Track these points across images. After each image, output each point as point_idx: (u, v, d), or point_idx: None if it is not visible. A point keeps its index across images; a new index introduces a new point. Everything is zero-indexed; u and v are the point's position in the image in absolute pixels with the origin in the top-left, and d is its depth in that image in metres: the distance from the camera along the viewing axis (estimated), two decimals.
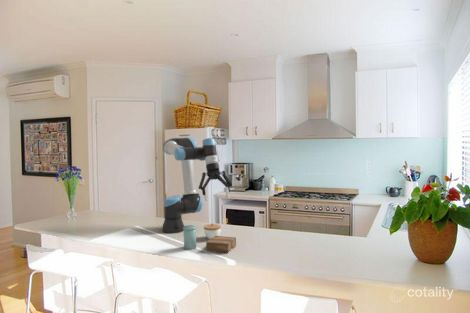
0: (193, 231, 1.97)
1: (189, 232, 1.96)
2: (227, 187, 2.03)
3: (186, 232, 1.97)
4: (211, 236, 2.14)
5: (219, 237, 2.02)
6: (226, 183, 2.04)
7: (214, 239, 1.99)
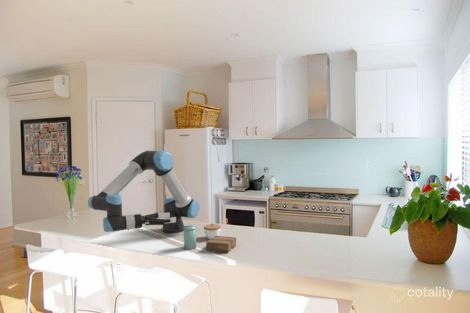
0: (193, 231, 1.97)
1: (189, 232, 1.96)
2: (164, 223, 1.86)
3: (186, 232, 1.97)
4: (211, 236, 2.14)
5: (219, 237, 2.02)
6: None
7: (214, 239, 1.99)
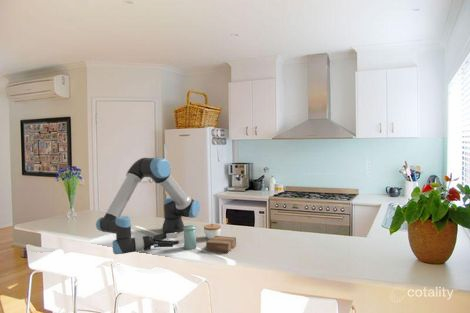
0: (193, 231, 1.97)
1: (189, 232, 1.96)
2: None
3: (186, 232, 1.97)
4: (211, 236, 2.14)
5: (219, 237, 2.02)
6: None
7: (214, 239, 1.99)
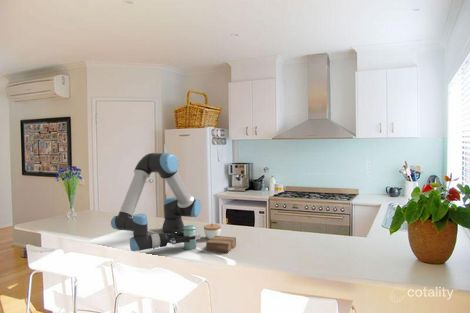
0: (193, 231, 1.97)
1: (189, 232, 1.96)
2: None
3: (186, 232, 1.97)
4: (211, 236, 2.14)
5: (219, 237, 2.02)
6: None
7: (214, 239, 1.99)
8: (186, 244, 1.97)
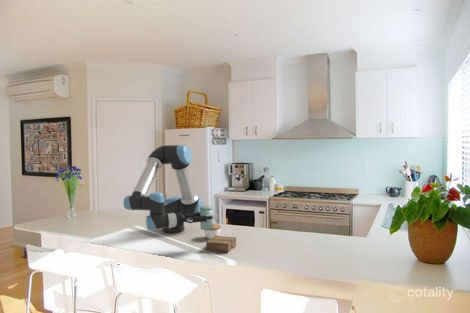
0: (210, 211, 1.94)
1: (206, 212, 1.93)
2: (206, 220, 1.92)
3: (203, 212, 1.93)
4: (211, 236, 2.14)
5: (219, 237, 2.02)
6: None
7: (214, 239, 1.99)
8: (203, 224, 1.94)
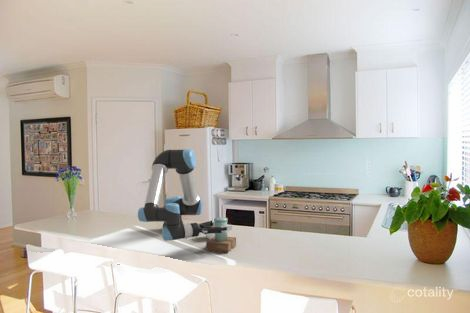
0: (225, 223, 1.95)
1: (221, 224, 1.94)
2: None
3: (218, 224, 1.94)
4: (211, 236, 2.14)
5: None
6: None
7: (214, 239, 1.99)
8: (217, 236, 1.95)
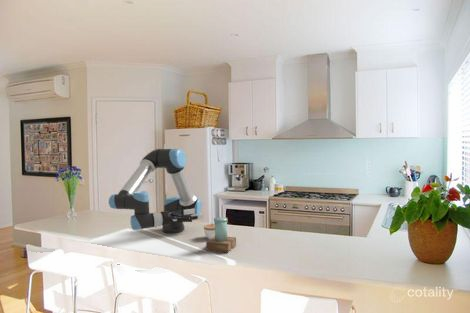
0: (224, 223, 1.95)
1: (220, 224, 1.94)
2: None
3: (217, 224, 1.94)
4: (211, 236, 2.14)
5: None
6: None
7: (214, 239, 1.99)
8: (217, 236, 1.95)
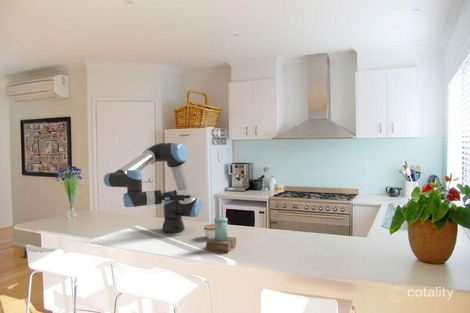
0: (225, 223, 1.95)
1: (221, 224, 1.94)
2: (184, 199, 1.86)
3: (218, 224, 1.94)
4: (211, 236, 2.14)
5: None
6: None
7: (214, 239, 1.99)
8: (217, 236, 1.95)
